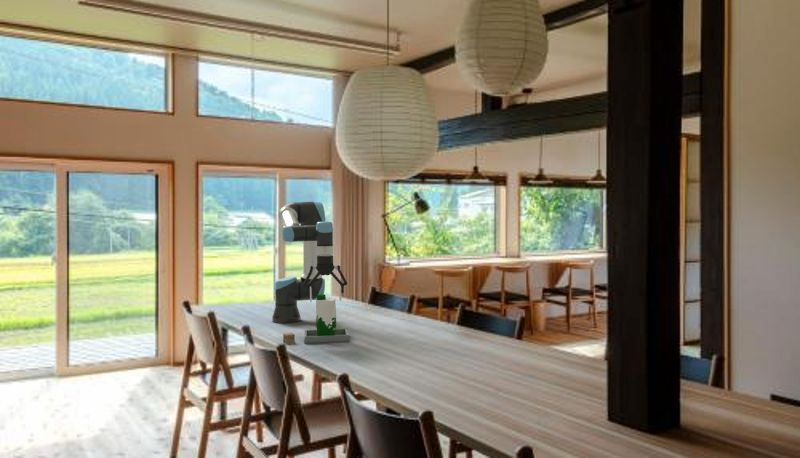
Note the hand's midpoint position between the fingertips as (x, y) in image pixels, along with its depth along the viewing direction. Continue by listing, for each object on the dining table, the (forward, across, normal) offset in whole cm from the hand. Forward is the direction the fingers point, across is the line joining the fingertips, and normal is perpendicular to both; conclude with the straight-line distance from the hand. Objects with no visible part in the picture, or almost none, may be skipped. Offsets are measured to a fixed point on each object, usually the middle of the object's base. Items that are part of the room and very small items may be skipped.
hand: (325, 300), depth 283 cm
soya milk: (+17, 0, -1) cm, 17 cm away
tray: (+18, 0, -1) cm, 18 cm away
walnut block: (+18, -17, -5) cm, 25 cm away
